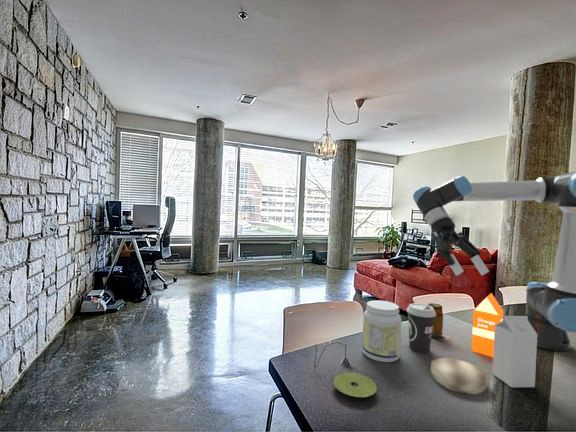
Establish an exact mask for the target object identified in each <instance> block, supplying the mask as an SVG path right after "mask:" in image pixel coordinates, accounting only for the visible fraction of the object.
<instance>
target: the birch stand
mask: <svg viewBox="0 0 576 432" xmlns="http://www.w3.org/2000/svg"><path fill="white" fill-rule="evenodd" d="M430 377H431V378H432V379H433V381H435V383H437V384H438V383H439V384H438V385H440V386H441V387H443V386H444V388H446V389H448V390H450V391H453V392H456V393H459V392H460V394H464V393H467V394H466V395H474V394H473V393H480V392H483V391H484V390H485V389H486V390H487V375H486V373H485V372H484V370H482V369H481V368H480V367H478V366H476V365H474V364H472V363H470V362H467V361H464V360H460V359H456V358H451V357H439V358H438V357H437V358H435V359H433V360H431V361H430ZM486 390H485V391H486ZM485 391H484V392H485ZM484 392H483V393H484Z"/></svg>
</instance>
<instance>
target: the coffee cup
mask: <svg viewBox="0 0 576 432" xmlns="http://www.w3.org/2000/svg"><path fill="white" fill-rule="evenodd" d="M406 312H407V320H408V321H407V322H408V324H407V325H408V341H409V342H408V343H409V349H410V350H412V351H414V352H416V353H419V354H427V353H430V351H431V349H430V348H431V344H432V343H431V342H432V337H431V336H432V329H433V322H434V317H435V316H436V313H435V311H434V308H433V307H431V306H429V305H428V304H424V303H415V302H414V303H409V305H408V306H407V308H406Z"/></svg>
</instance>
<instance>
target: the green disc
mask: <svg viewBox="0 0 576 432" xmlns="http://www.w3.org/2000/svg"><path fill="white" fill-rule="evenodd" d="M332 384H333V385H334V387H335V388H336V389H337V390H338V391H339V392H341V393H343V394H345V395H347V396H351V397H355V398H367V397H370V396H373V395H374V394H375V393H376V392H377V389H378V388H377V385H376V383H375V381H374V380H373V379H372V378H370V377H368V376H366V375H364V374H361V373H355V372H343V373H340V374H337V375H336V376H335V377H333V383H332Z"/></svg>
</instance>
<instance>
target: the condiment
mask: <svg viewBox="0 0 576 432" xmlns="http://www.w3.org/2000/svg"><path fill="white" fill-rule="evenodd" d="M427 305H429V306H431V307H433V308H434V311H435V313H436V316H435V317H434V322H433V329H432V336H431V339H435V340H437V341H442V342H443V341H446V340H448V339H450V338H451V336H450V335H447V334H443V328H444V327H443V325H444V313H443V305H441V304H439V303H428V304H427Z"/></svg>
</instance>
